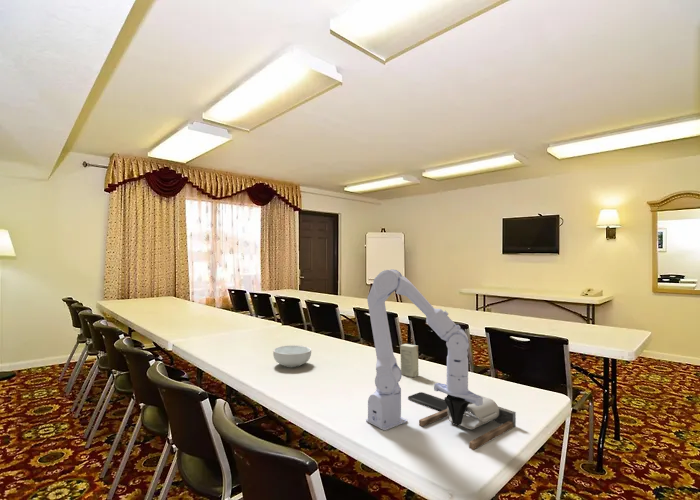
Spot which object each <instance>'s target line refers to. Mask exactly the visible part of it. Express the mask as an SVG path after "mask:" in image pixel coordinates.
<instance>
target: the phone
mask: <svg viewBox="0 0 700 500" xmlns="http://www.w3.org/2000/svg"><path fill="white" fill-rule="evenodd" d="M407 399H408V401H410V402H412V403H415V404H419V405H421V406H423V407H426V408H430V409H432V410H435V411H438V412H440V411H443V410H445V409H447V404H446V402H445V400H444V399H445V398H440V397H439V396H438V397H437V396H434V395H432V394H428V393H426V392H421V391H420V392H417V393H414V394H411V395H408V397H407Z"/></svg>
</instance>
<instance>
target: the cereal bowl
mask: <svg viewBox="0 0 700 500" xmlns="http://www.w3.org/2000/svg"><path fill="white" fill-rule="evenodd" d="M272 352H273V353H272V355H273V359H274V360H275V362H276V363H277V364H279V365H281V366H283V365H284V366H283V367H285V366H287V367H286V368H297V367H296V366H298V367H300V366H301V365H304V364H305V363H307V362H308V361H309V360H310V358H311V356H312V348H311V347H309V346H303V345H295V344H292V345H291V344H290V345H282V346H277V347H276V348H274V349H273V351H272ZM299 365H300V366H299Z"/></svg>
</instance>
